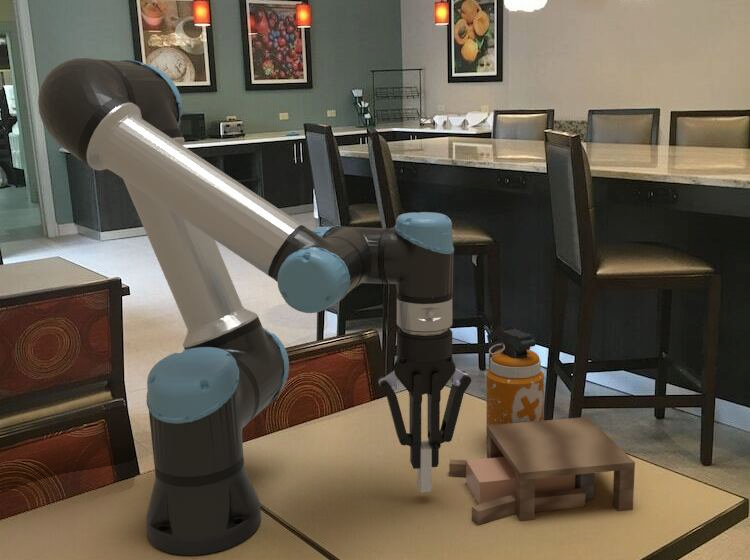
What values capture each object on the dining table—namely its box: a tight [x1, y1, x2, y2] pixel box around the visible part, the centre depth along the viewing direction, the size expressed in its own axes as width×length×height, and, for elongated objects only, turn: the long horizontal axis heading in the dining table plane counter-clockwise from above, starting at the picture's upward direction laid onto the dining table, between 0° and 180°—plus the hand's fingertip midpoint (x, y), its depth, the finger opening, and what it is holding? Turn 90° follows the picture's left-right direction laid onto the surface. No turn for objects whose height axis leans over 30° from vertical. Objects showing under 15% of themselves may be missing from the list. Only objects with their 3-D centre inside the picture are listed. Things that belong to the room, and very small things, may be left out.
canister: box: [485, 324, 545, 445], centre depth 127 cm, size 9×11×20 cm
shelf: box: [448, 416, 636, 526], centre depth 114 cm, size 22×16×7 cm
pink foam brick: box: [465, 457, 576, 505], centre depth 114 cm, size 14×7×4 cm, turn 99°
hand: (424, 487), depth 112 cm, fingers closed
